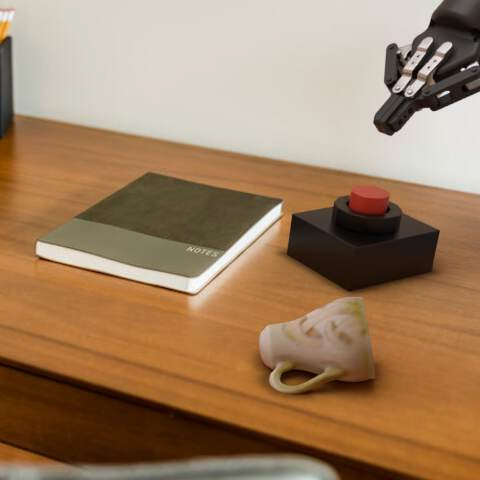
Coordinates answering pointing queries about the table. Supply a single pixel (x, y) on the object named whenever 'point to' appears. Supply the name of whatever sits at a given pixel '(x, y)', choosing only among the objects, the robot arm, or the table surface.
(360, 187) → the button
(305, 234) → the console
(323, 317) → the mug
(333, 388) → the table surface
